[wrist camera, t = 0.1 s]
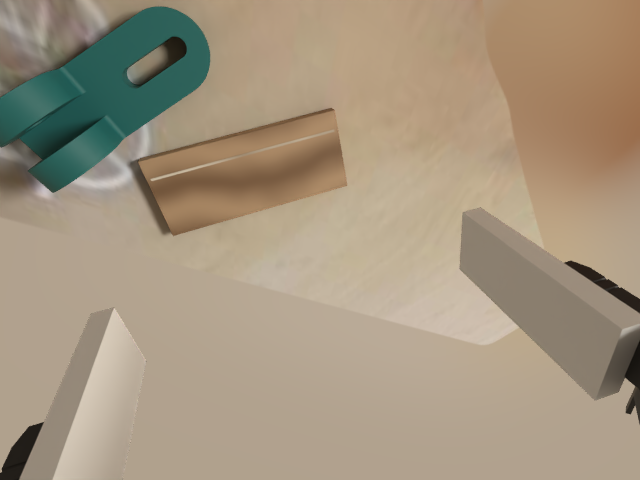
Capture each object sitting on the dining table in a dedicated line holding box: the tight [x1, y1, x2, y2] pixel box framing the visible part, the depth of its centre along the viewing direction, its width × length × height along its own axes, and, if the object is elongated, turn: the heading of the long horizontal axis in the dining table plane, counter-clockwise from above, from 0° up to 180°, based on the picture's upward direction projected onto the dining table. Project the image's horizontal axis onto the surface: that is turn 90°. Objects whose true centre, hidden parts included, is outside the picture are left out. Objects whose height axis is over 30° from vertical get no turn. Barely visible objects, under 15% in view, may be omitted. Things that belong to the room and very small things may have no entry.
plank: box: [138, 108, 347, 236], centre depth 39 cm, size 8×20×1 cm, turn 102°
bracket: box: [0, 7, 210, 193], centre depth 30 cm, size 18×7×8 cm, turn 120°
